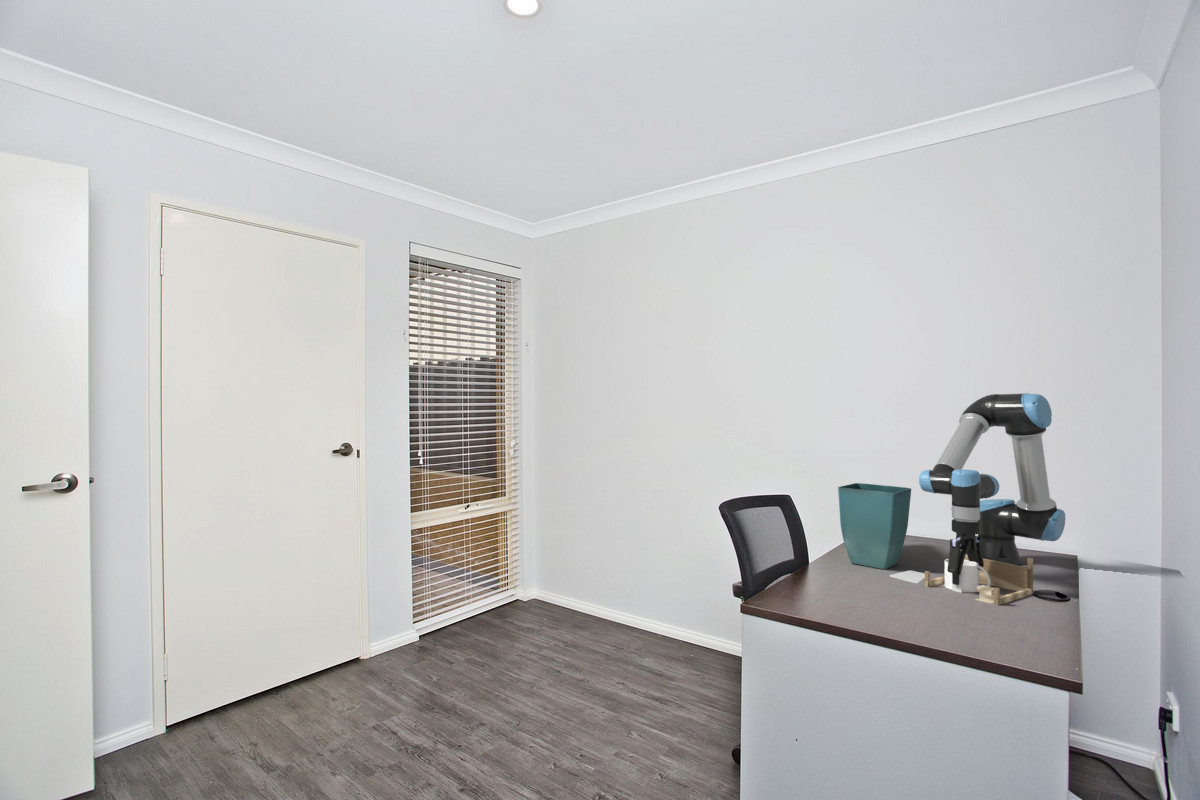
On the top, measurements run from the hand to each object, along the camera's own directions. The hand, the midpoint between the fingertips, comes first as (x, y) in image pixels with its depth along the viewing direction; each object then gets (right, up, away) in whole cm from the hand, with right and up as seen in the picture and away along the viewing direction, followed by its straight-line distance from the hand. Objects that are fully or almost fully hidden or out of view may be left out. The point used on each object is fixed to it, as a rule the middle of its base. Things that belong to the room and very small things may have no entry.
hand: (965, 592), depth 183 cm
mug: (0, 0, 0) cm, 1 cm away
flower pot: (-12, -1, +35) cm, 37 cm away
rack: (+3, 0, -1) cm, 3 cm away
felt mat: (-7, 0, +16) cm, 17 cm away
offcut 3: (0, -1, -11) cm, 11 cm away
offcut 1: (0, +3, -10) cm, 11 cm away
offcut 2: (0, +1, -11) cm, 11 cm away
